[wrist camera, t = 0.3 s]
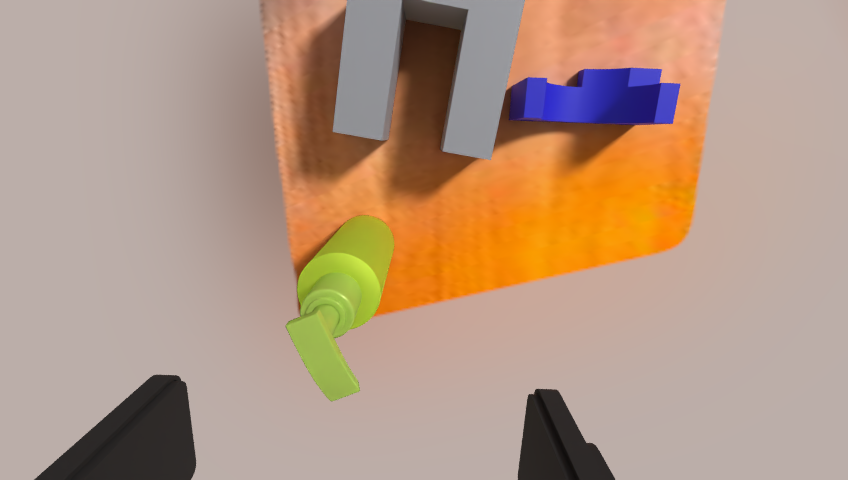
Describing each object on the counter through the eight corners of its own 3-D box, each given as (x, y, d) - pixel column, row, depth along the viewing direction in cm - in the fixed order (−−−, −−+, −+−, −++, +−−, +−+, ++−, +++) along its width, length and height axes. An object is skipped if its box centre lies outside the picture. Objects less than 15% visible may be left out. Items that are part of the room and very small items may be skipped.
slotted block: (363, -9, 34) (351, -37, 29) (508, 20, 35) (525, -3, 29) (346, 132, 38) (332, 131, 32) (480, 156, 38) (490, 160, 32)
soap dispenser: (356, 287, 42) (297, 419, 22) (326, 228, 40) (236, 316, 21) (407, 266, 41) (392, 384, 22) (379, 206, 39) (337, 275, 20)
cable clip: (642, 74, 36) (684, 63, 31) (634, 125, 38) (672, 123, 32) (513, 69, 36) (529, 56, 30) (508, 120, 37) (523, 117, 32)
